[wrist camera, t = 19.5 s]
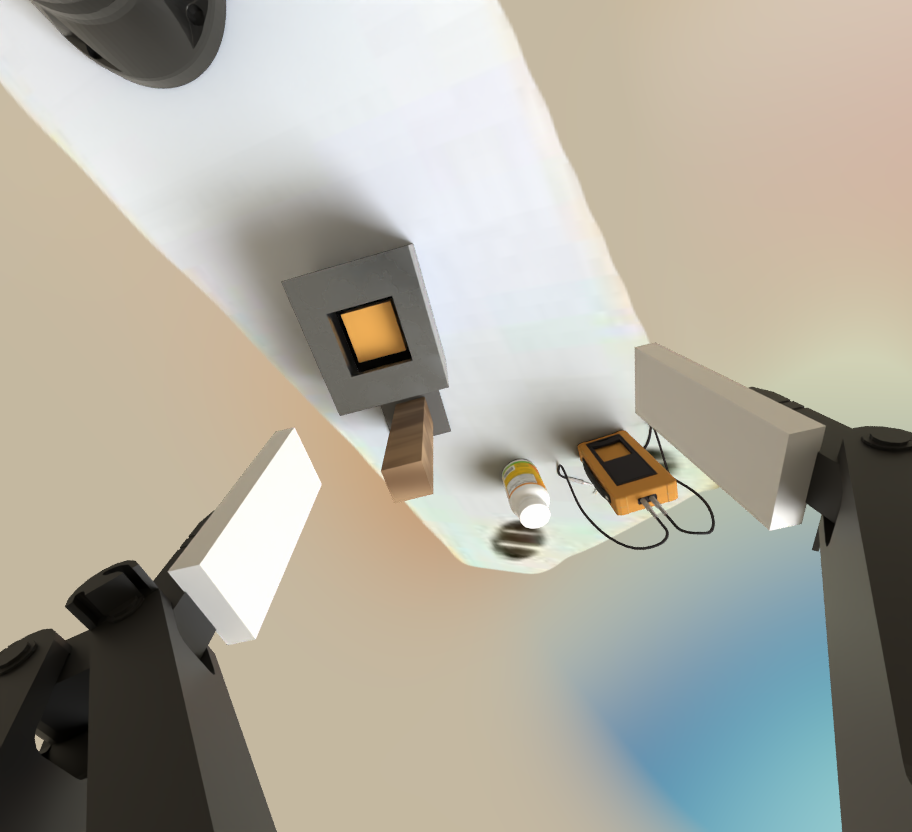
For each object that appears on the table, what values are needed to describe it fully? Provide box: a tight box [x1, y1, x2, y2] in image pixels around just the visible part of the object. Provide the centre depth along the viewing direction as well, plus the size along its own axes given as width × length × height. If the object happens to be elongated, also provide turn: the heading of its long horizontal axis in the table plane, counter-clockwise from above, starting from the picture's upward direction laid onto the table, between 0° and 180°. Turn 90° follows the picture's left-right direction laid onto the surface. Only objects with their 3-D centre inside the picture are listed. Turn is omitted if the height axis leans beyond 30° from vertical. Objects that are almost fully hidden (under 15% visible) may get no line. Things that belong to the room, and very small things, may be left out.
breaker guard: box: [281, 244, 449, 416], centre depth 41 cm, size 14×12×10 cm
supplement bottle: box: [502, 460, 550, 528], centre depth 52 cm, size 5×5×10 cm
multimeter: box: [558, 426, 715, 550], centre depth 48 cm, size 15×10×20 cm
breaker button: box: [341, 298, 407, 363], centre depth 42 cm, size 5×5×6 cm
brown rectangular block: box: [381, 397, 433, 503], centre depth 44 cm, size 4×4×16 cm
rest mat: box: [381, 390, 451, 436], centre depth 51 cm, size 8×8×1 cm
